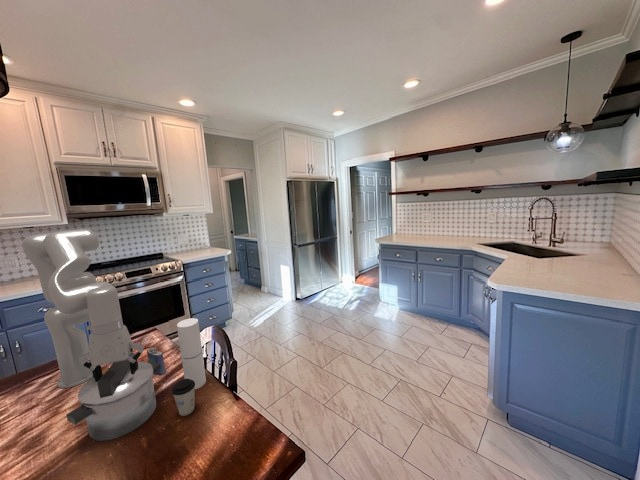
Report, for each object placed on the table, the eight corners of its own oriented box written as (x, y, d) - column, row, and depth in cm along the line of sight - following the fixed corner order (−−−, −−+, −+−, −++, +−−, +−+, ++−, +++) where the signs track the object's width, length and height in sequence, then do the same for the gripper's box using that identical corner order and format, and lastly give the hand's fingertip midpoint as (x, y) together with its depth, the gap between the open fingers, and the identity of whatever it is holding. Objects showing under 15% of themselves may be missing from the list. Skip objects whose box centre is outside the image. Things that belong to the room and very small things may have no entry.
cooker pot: (60, 440, 79) (52, 405, 78) (144, 384, 103) (140, 355, 101) (96, 460, 72) (87, 422, 71) (177, 395, 96) (173, 365, 94)
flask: (167, 372, 109) (163, 348, 108) (159, 376, 107) (155, 352, 105) (154, 366, 114) (150, 343, 112) (147, 370, 111) (143, 347, 110)
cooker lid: (142, 395, 79) (139, 377, 78) (63, 413, 74) (59, 394, 73) (160, 359, 97) (157, 344, 96) (97, 371, 92) (94, 356, 91)
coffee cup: (193, 399, 94) (190, 373, 92) (201, 409, 89) (197, 382, 87) (172, 410, 89) (168, 384, 87) (179, 422, 84) (174, 394, 82)
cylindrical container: (198, 390, 98) (189, 327, 94) (181, 388, 99) (172, 326, 95) (209, 377, 105) (202, 318, 101) (193, 376, 106) (185, 317, 102)
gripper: (66, 337, 76) (77, 390, 79) (135, 326, 81) (143, 376, 84) (81, 325, 84) (91, 374, 86) (143, 316, 88) (151, 362, 91)
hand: (117, 375), depth 85 cm, fingers open, 9 cm apart
